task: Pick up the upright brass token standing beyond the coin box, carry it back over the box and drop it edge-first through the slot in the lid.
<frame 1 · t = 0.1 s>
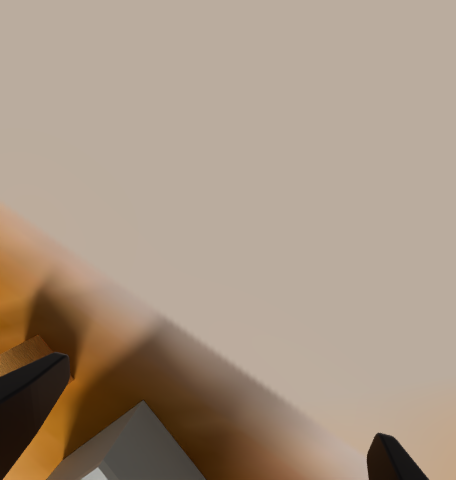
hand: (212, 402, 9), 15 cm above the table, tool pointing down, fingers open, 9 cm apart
coin box: (133, 472, 27), on the table
token: (49, 362, 27), on the table
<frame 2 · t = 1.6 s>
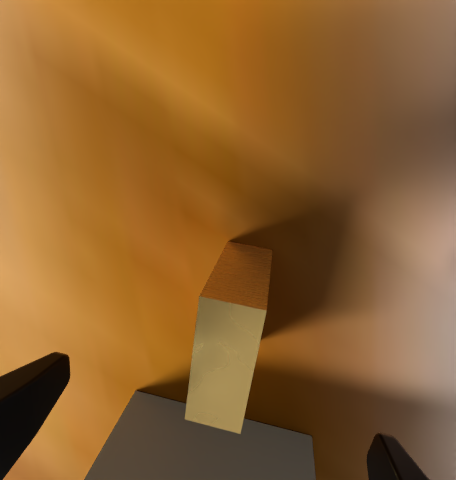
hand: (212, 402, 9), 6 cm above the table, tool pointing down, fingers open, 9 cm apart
coin box: (211, 467, 19), on the table
token: (241, 294, 14), on the table
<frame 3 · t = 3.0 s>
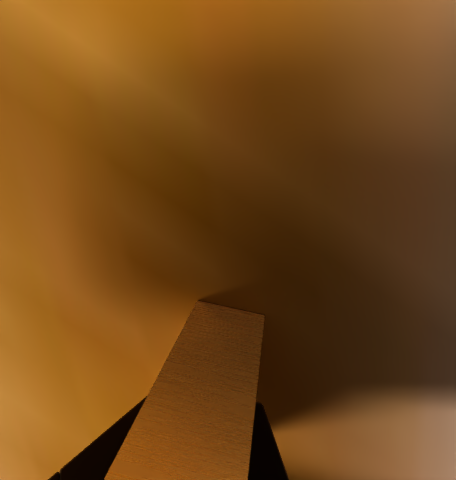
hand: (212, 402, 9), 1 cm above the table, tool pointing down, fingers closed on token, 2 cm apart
token: (219, 375, 10), on the table, touching gripper
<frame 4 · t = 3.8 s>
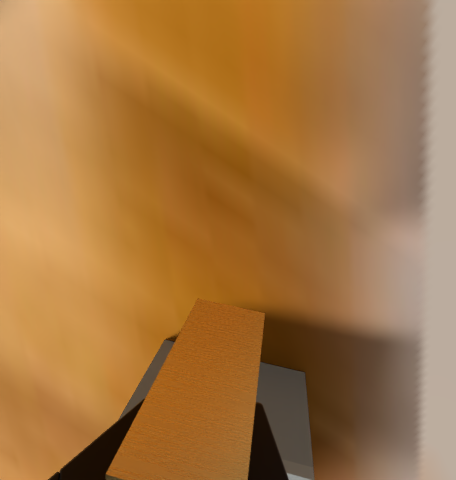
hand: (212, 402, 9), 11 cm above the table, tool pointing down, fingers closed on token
coin box: (224, 403, 23), on the table
token: (219, 373, 10), point 10 cm above the table, touching gripper
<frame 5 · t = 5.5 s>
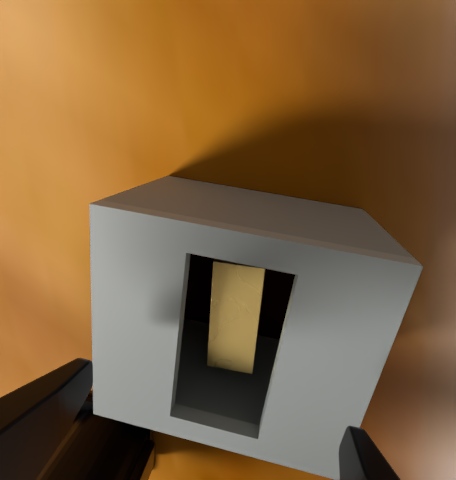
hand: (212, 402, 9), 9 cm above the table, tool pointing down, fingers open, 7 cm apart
coin box: (247, 270, 17), on the table
token: (247, 270, 17), resting in coin box
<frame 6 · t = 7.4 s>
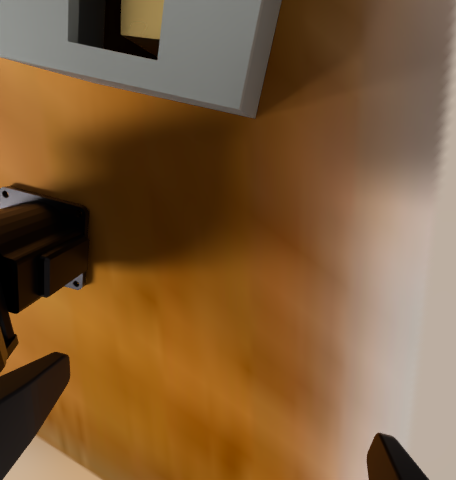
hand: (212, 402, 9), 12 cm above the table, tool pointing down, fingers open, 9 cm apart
coin box: (184, 10, 16), on the table
token: (184, 10, 17), resting in coin box
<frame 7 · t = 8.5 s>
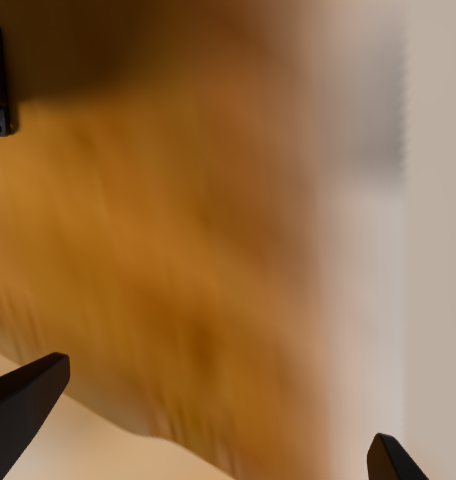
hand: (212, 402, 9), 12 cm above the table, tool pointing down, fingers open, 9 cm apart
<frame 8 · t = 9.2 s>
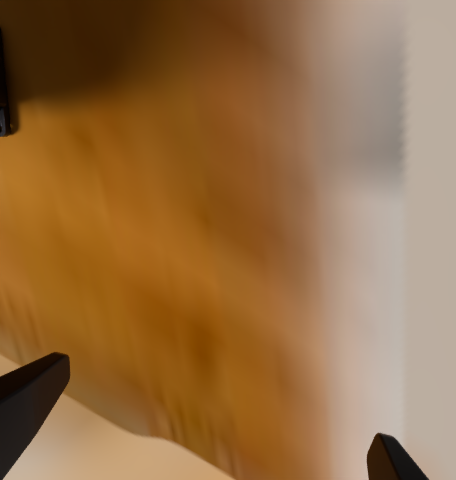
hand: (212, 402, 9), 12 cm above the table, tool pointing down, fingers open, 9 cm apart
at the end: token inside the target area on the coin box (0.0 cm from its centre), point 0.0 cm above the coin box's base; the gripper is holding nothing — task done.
